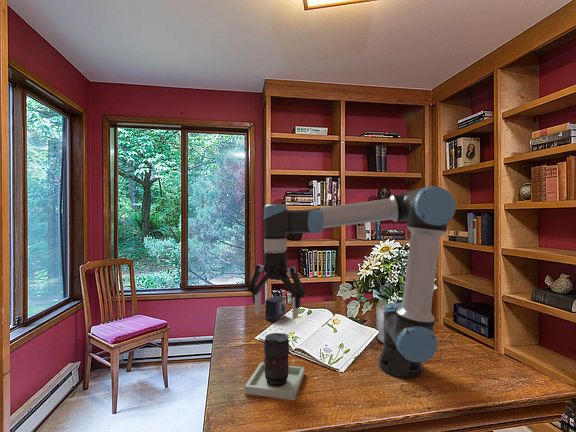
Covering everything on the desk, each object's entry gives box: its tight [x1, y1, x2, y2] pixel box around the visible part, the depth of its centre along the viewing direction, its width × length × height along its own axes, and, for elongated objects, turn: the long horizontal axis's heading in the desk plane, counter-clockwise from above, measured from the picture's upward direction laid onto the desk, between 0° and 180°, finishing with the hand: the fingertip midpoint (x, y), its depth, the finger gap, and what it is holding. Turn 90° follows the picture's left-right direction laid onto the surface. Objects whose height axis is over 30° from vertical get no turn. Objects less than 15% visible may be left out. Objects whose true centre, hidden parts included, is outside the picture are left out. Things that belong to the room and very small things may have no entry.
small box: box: [264, 295, 286, 322], centre depth 172 cm, size 11×6×10 cm, turn 149°
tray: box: [244, 362, 305, 401], centre depth 108 cm, size 16×16×2 cm
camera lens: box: [263, 332, 290, 387], centre depth 108 cm, size 8×8×15 cm
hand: (276, 315), depth 108 cm, fingers open, 13 cm apart
